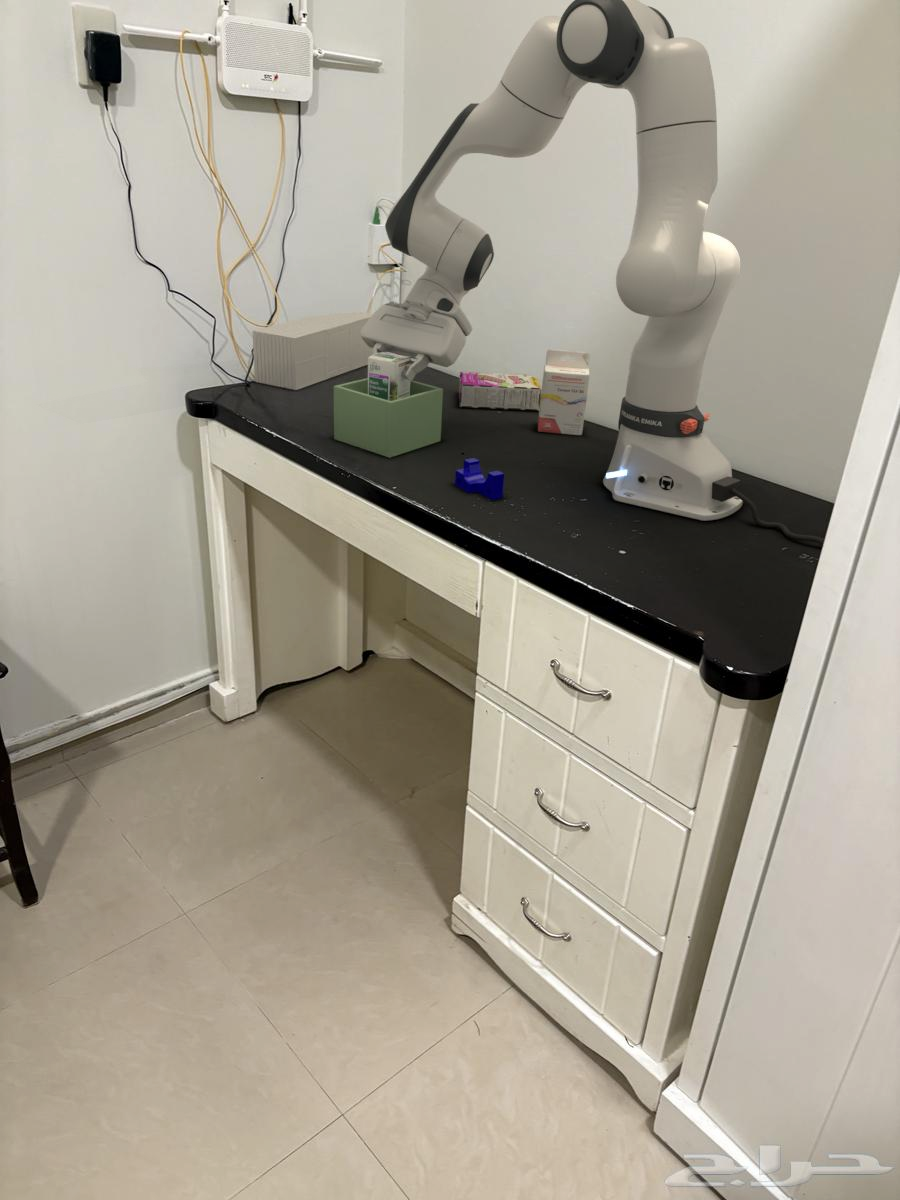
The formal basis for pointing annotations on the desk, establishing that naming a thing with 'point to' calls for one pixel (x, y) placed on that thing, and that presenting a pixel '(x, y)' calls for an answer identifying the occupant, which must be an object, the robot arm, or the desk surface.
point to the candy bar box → (499, 391)
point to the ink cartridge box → (564, 392)
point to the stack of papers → (310, 349)
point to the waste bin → (387, 418)
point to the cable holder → (479, 480)
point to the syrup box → (388, 376)
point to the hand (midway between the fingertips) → (389, 373)
